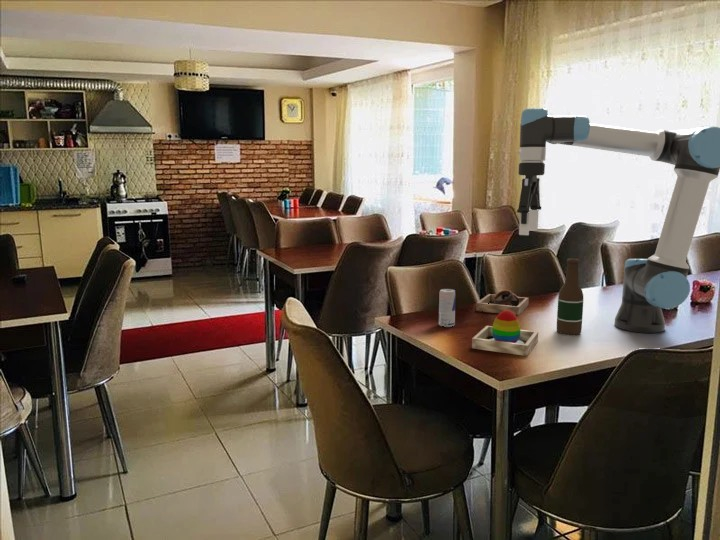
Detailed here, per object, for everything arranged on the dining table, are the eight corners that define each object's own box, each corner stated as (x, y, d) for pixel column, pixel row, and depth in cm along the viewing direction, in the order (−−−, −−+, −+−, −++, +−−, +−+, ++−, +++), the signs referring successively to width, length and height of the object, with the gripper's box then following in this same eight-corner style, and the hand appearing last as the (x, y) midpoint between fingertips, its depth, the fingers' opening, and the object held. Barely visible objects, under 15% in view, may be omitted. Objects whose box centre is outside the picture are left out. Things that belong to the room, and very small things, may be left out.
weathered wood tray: (528, 305, 228) (528, 297, 228) (518, 315, 213) (518, 307, 212) (488, 301, 235) (488, 293, 234) (476, 310, 220) (476, 302, 219)
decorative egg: (488, 339, 181) (490, 307, 180) (515, 338, 182) (516, 307, 180) (495, 347, 173) (497, 313, 172) (523, 346, 174) (525, 313, 172)
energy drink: (456, 324, 201) (457, 289, 199) (452, 328, 196) (453, 292, 194) (441, 322, 203) (442, 288, 201) (436, 326, 198) (437, 291, 196)
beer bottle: (578, 337, 185) (583, 261, 181) (553, 333, 189) (557, 259, 185) (583, 331, 192) (588, 258, 188) (559, 328, 196) (563, 256, 192)
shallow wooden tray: (537, 341, 181) (538, 331, 181) (527, 355, 167) (527, 345, 167) (486, 334, 188) (486, 325, 188) (471, 348, 174) (472, 338, 174)
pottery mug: (525, 313, 218) (517, 295, 215) (501, 323, 220) (492, 305, 217) (518, 298, 229) (510, 281, 226) (495, 308, 231) (487, 291, 228)
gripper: (527, 162, 190) (524, 228, 193) (509, 161, 168) (506, 236, 172) (551, 162, 186) (548, 229, 190) (536, 161, 165) (533, 237, 168)
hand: (528, 232), depth 181 cm, fingers open, 13 cm apart
